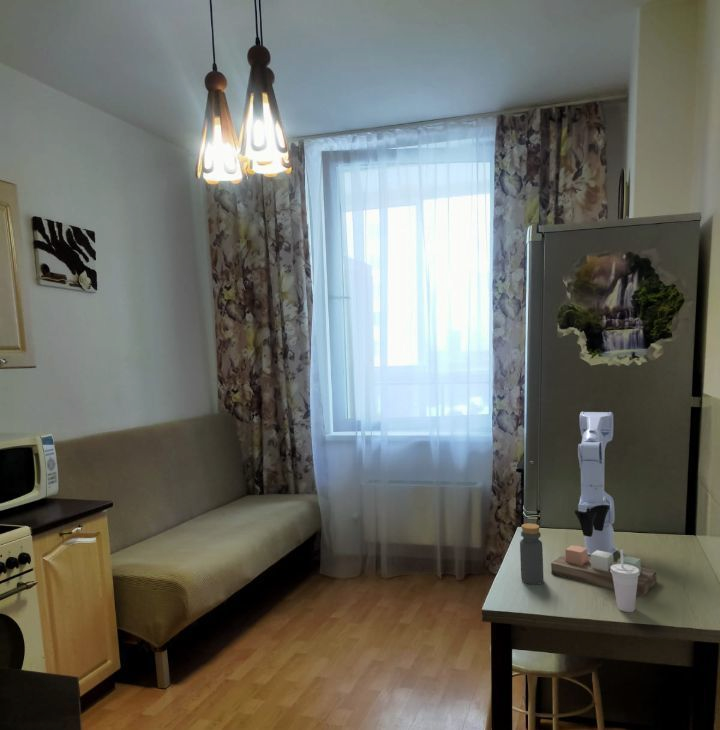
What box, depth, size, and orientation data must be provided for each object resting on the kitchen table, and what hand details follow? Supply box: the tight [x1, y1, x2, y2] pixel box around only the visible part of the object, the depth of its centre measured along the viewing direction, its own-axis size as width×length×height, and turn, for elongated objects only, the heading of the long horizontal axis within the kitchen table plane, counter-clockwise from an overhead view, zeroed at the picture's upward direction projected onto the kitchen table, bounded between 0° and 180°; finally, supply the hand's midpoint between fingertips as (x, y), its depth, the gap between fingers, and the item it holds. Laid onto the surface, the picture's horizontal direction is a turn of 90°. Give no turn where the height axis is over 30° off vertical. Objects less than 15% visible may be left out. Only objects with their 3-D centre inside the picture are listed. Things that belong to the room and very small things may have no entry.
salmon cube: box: [564, 544, 589, 566], centre depth 160 cm, size 4×4×4 cm
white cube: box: [590, 550, 614, 572], centre depth 155 cm, size 4×4×4 cm
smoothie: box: [610, 549, 640, 613], centre depth 136 cm, size 6×6×14 cm
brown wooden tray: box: [550, 552, 658, 597], centre depth 155 cm, size 11×24×3 cm, turn 47°
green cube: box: [616, 555, 642, 574], centre depth 150 cm, size 4×4×4 cm
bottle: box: [519, 522, 544, 585], centre depth 155 cm, size 6×6×15 cm
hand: (593, 533), depth 160 cm, fingers open, 7 cm apart
